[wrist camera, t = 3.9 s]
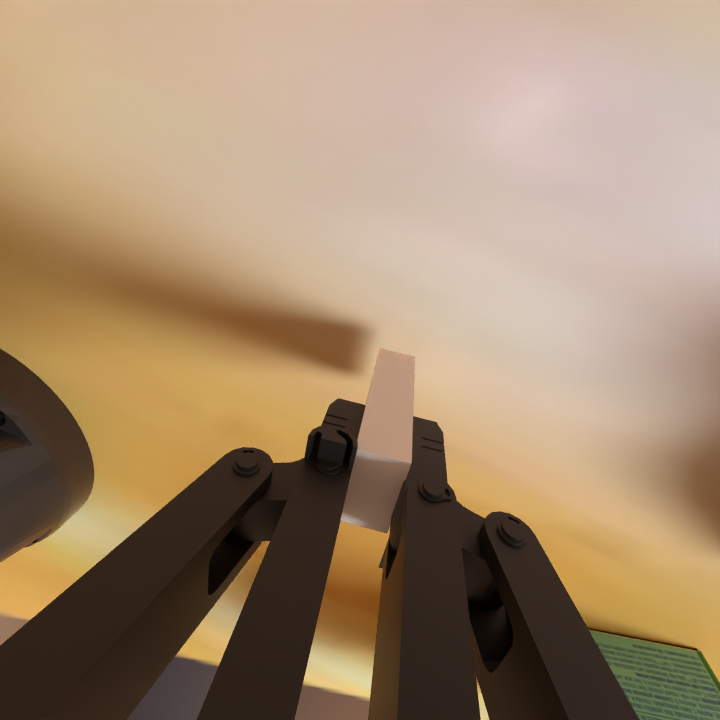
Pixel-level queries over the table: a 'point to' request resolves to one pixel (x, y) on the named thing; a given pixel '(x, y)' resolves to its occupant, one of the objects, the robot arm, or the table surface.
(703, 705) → the milk carton
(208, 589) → the robot arm
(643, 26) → the table surface
